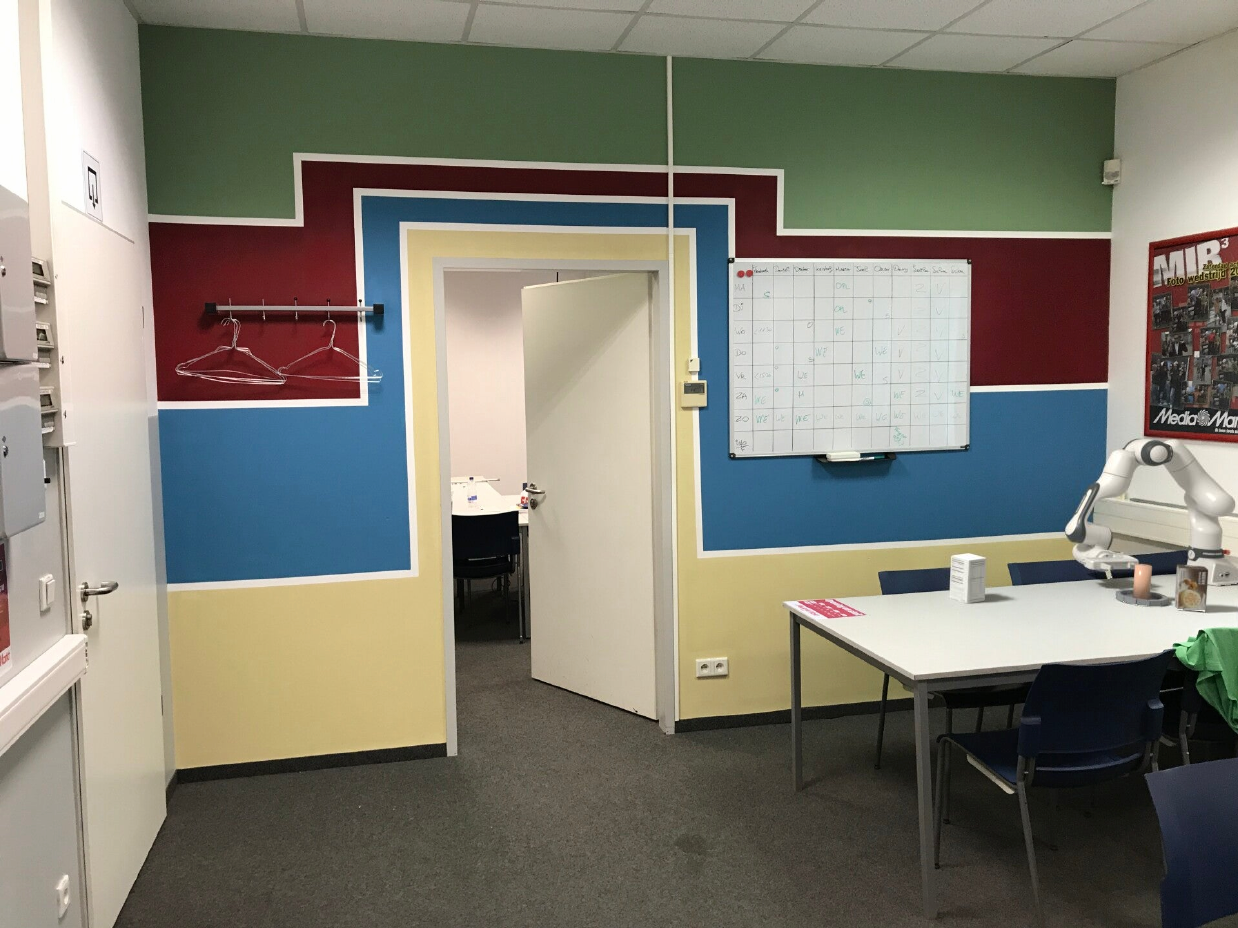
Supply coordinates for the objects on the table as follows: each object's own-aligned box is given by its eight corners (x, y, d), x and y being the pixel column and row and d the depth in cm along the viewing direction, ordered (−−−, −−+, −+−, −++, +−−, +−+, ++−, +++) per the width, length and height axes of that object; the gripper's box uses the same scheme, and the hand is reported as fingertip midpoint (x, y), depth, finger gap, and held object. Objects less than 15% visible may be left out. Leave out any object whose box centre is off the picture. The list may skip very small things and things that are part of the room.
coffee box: (1202, 608, 340) (1205, 566, 338) (1205, 613, 334) (1209, 569, 332) (1173, 605, 343) (1176, 563, 341) (1176, 610, 337) (1180, 567, 335)
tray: (1147, 594, 360) (1148, 588, 359) (1177, 606, 343) (1177, 600, 343) (1106, 595, 358) (1106, 589, 358) (1134, 606, 341) (1134, 601, 341)
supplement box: (966, 595, 357) (969, 552, 355) (985, 601, 349) (987, 557, 347) (948, 597, 353) (950, 554, 351) (966, 603, 345) (969, 559, 343)
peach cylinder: (1143, 596, 354) (1145, 563, 352) (1152, 600, 348) (1155, 567, 346) (1129, 597, 353) (1131, 563, 351) (1138, 601, 347) (1141, 567, 346)
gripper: (1078, 552, 374) (1098, 560, 360) (1125, 551, 375) (1148, 559, 362) (1077, 568, 375) (1097, 576, 361) (1124, 567, 376) (1146, 575, 363)
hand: (1123, 567), depth 361 cm, fingers open, 8 cm apart
